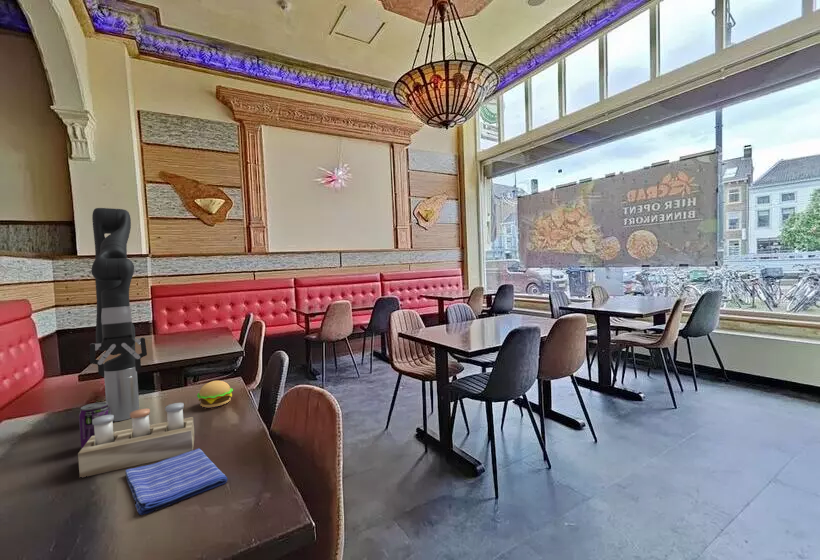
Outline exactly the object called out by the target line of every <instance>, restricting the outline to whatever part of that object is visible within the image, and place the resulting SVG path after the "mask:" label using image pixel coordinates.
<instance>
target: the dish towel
mask: <svg viewBox="0 0 820 560" xmlns="http://www.w3.org/2000/svg"><path fill="white" fill-rule="evenodd" d="M125 476H126V477H125V478H126V481H127V484H128V487H129V489H130V492H131V494H132V498H133V500H135V501H136V504H135V503H134V506H135V508H136V511H137V513H138V515H141V516H143V515H147V514H149V513H152V512H155V511H157V510H159V509H162V507H163V508H165V507H167V506H171V505H173V504H176V503H179V502H180V501H183V500H186V499H189V498H191V497H193V496H196V495H199V494H202V493H205V492H207V491H210V490H212V489H214V488H217V487H220V486H224V485H225V484H226V483H227V482H228V481H229V479H228V477H227V476H226V474H225V473H223V471H222V470H221V469H220V468H218V467H217V465H216V464H215V463H214V462H213V461H212V460H211V459H210V457H208V456H207V454H205V452H204V451H203V450H202V449H201V448H195V449H193V451H190V452H187V453H184V454H181V455H178V456H175V457H171V458H167V459H162V460H159V461H158V462H157V461H156V462H155V463H154V462H153V463H152V464H148V465H141V466H137V467H134V468H132V467H131V468H128V469H125ZM135 501H134V502H135ZM156 509H157V510H156ZM154 510H155V511H154Z"/></svg>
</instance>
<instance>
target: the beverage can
mask: <svg viewBox="0 0 820 560" xmlns="http://www.w3.org/2000/svg"><path fill="white" fill-rule="evenodd" d="M104 415H111V412H110V407H109V406H108V402H106V401H99V402H94V403H93V402H92V403H89V404H86V405H83V406H81V407H80V412H79V414H78V421H79V424H78V425H79V434H80V436H79V437H80V450H81V449H82V448H83V447H84V445H85V444H86V443H87V441H88V440H89V439H90V438H91V436H95V431H94V425H93V424H92V420H93V419H94V418H97V417H100V416H104Z"/></svg>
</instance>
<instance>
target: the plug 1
mask: <svg viewBox="0 0 820 560" xmlns="http://www.w3.org/2000/svg"><path fill="white" fill-rule="evenodd" d="M113 420H114V415H104V416H100V417H97V418H94V419H93V420H92V424H93V425H94V431H95V446H96V445H101V444H106V443H111V442H114V434H113V432H114V423H113V422H114V421H113Z"/></svg>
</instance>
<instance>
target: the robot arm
mask: <svg viewBox="0 0 820 560" xmlns="http://www.w3.org/2000/svg"><path fill="white" fill-rule="evenodd" d="M91 216H92V219H91V220H92V230H93V231H92V232H93V240H94V250H95V251H94V252H95V254H94V256H95V259H94V261H93V262H92V265H91V270H90V271H91V275H92V277H93V278H94V279H95V294H96V319H95V320H96V321H95V343H93V342H92V343H90V344H89V364H93V365H96V366H97V372H98V373H97V374H98V375H99V376H101V377H102V378H103V379H104V380H103V381H104V392H105V402H108V406H109V407H110V412H111V415H114V420H113V422H119V421H125V420H129V419H131V418H130V413H131V412H133V411H135V410H139V409H140V398H139V397H140V396H139V383H138V372H139V371H140V370H141V368H142V365H141V364H142V362H141V360H142V358H144V357H146V356H148V352H147V346H146V345H147V344H146V343H147V342H146V338H145V337H139V338H136V327H135V325H134V323H133V321H132V320H133V318H132V312H131V307H130V304H131V303H130V287H131V282H132V280H133V276H134V272H135V266H134V263H133V261H132V260H131V259H129V258H127V257H128V255H127V254H128V253H127V252H128V249H127V248H128V247H127V246H128V245H127V244H128V241H129V238H130V233H131V228H132V227H131V226H132V223H131V220H132V219H131V215H130V213H129V211H128V210H127V209H123V208H111V207H109V208H108V207H96V208H94V209H93V210H92V215H91ZM106 234H108V235H106ZM105 235H106V236H105ZM136 343H137V345H138V346H140V349H141V351H140V352H141V353H137V352H136ZM98 350H99V351H101V352H103V351H105V352H104V353H103V354H102V355H101V357H100V358H99V359H96V352H97V351H98ZM110 355H111V356H116V357H114V358H113V357H112V358H111V359H108V360H107V358H109V356H110Z"/></svg>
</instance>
